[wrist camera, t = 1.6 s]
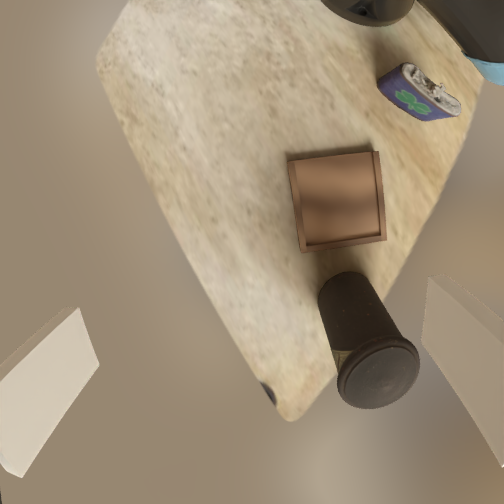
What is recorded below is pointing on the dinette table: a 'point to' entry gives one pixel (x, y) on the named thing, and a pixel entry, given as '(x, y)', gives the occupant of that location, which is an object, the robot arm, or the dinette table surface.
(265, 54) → the dinette table surface
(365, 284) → the container
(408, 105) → the flask
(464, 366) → the robot arm
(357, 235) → the square wooden tray
